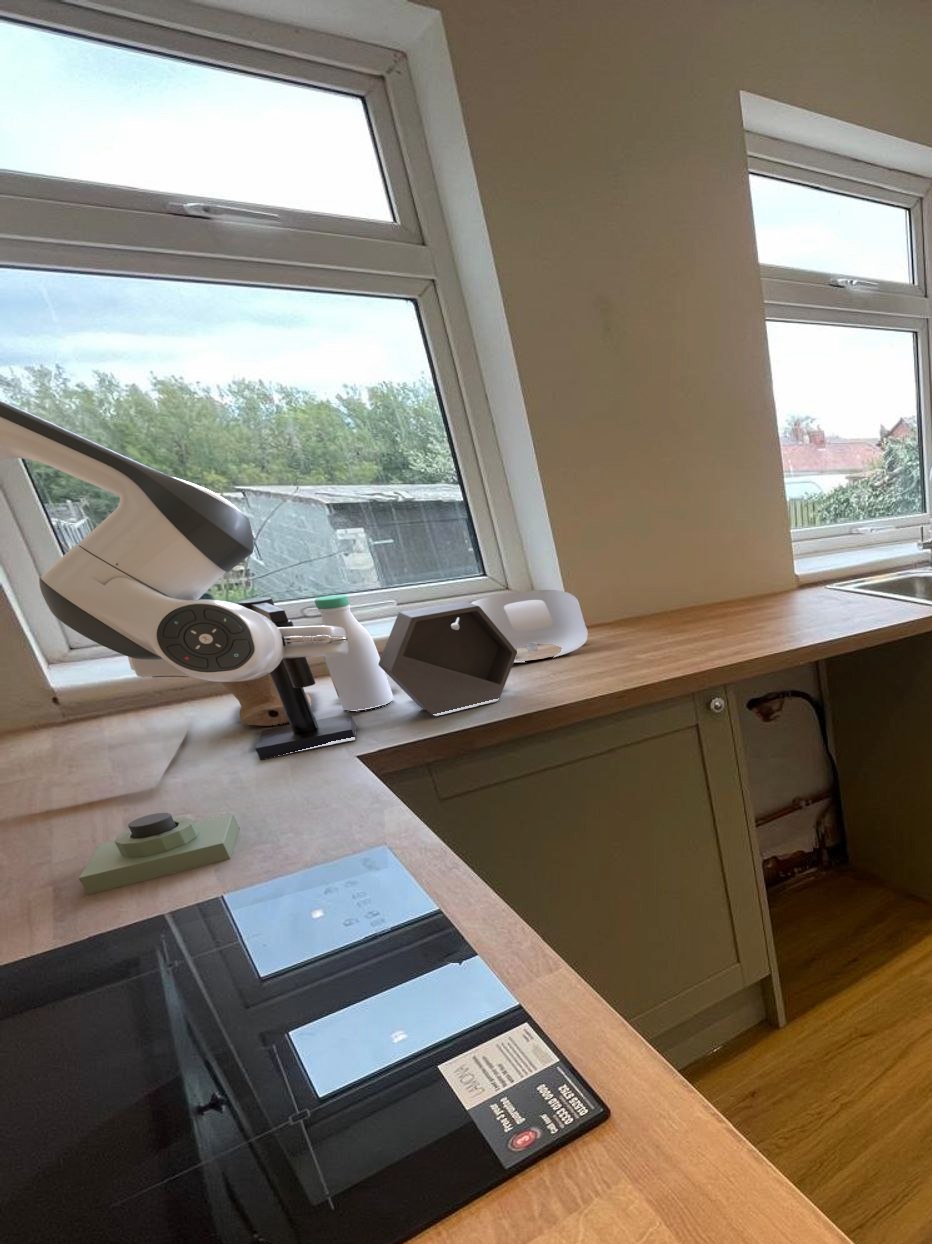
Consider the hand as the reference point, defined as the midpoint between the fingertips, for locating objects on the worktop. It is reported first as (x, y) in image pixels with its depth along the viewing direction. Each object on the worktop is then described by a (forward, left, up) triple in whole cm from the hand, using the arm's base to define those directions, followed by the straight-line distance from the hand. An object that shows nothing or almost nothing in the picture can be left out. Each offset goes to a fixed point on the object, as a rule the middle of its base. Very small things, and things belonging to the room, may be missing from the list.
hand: (252, 647), depth 106 cm
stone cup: (-7, +44, -21) cm, 49 cm away
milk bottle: (+7, +40, -21) cm, 46 cm away
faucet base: (-1, +24, -20) cm, 32 cm away
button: (-13, -15, -17) cm, 26 cm away
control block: (-13, -15, -20) cm, 28 cm away
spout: (+1, +19, -9) cm, 21 cm away
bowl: (+37, +60, -21) cm, 74 cm away
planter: (+21, +28, -21) cm, 41 cm away
